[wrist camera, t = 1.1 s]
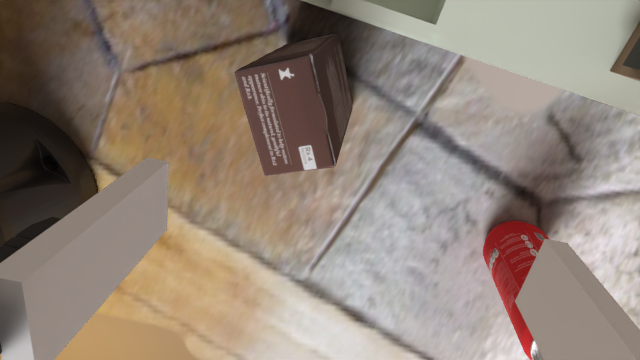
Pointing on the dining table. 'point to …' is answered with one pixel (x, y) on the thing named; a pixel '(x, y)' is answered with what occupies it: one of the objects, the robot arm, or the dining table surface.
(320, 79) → the box
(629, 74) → the brown tall rectangular block
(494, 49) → the pale green holder tray
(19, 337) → the robot arm
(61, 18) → the dining table surface
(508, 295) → the beverage can
